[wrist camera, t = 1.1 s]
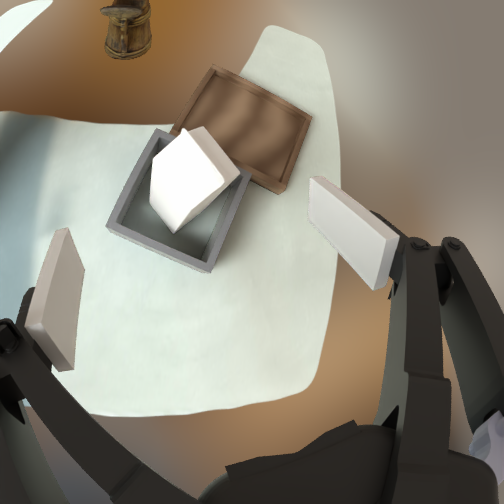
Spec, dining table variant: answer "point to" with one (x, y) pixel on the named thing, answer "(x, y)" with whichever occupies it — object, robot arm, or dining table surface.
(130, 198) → the box
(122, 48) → the wooden mug
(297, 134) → the tray
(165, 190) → the milk
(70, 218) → the dining table surface
